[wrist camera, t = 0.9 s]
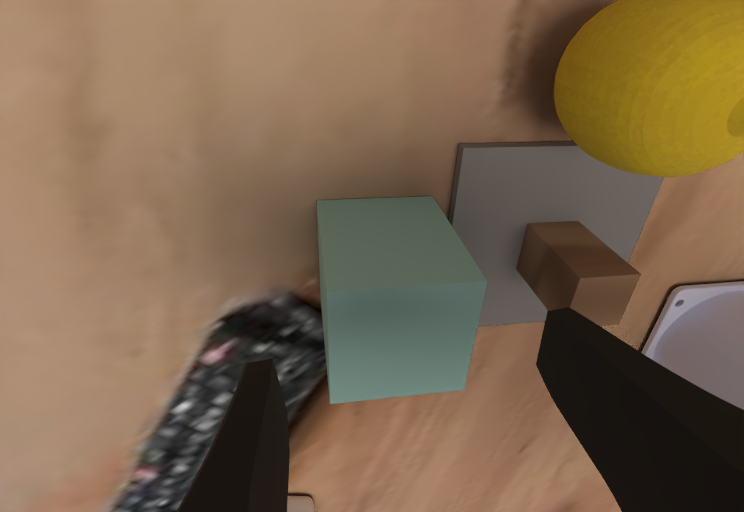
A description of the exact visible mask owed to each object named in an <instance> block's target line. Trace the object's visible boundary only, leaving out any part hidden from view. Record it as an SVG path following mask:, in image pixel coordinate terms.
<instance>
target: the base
mask: <svg viewBox="0 0 744 512" xmlns="http://www.w3.org/2000/svg"><path fill="white" fill-rule="evenodd" d="M663 178H664V177H657V176H648V175H640V174H634V173H629V172H625V171H622V170H619V169H616V168H613V167H611V166H609V165H607V164H605V163H603V162H601V161H598V160H596V159H594V158H592V157H591V156H589V155H588V154H586V153H585V152H584V151H583V150H582V149H581V148H580V147H579V146H578V145H577V144H576V143H575V142H574V141H563V142H510V143H459V148H458V155H457V162H456V169H455V176H454V183H453V190H452V197H451V204H450V211H449V218H448V221H449V222H450V224H451V226H452V227H453V229H454V230H455V232H456V233H457V235H458V236H459V238H460V240H461V241H462V243H463V244H464V246H465V247H466V249H467V250H468V252H469V254H470V255H471V257H472V258H473V260H474V261H475V263H476V264H477V266H478V268H479V269H480V271H481V272H482V274H483V275H484V277H485V278H486V280H487V285H486V290H485V295H484V299H483V304H482V309H481V313H480V318H479V323H478V327H481V326H493V325H505V324H517V323H528V322H540V321H546V316H547V311H548V310H547V309H546V307H545V306H544V305H543V303H542V302H541V301H540V300H539V298H538V297H537V296H536V294H535V293H534V292H533V290H532V289H531V288H530V287H529V285H528V284H527V283H526V281H525V280H524V279H523V277H522V276H521V275H520V274H519V272H518V271H517V270H516V267H517V263H518V259H519V255H520V251H521V247H522V243H523V239H524V235H525V231H526V227H527V223H543V222H564V221H579V222H580V223H581V224H583V225H584V226H585V227H586V228H587V229H588V230H590V231H591V232H592V233H593V234H594V235H595V236H597V237H598V238H599V239H600V240H601V241H602V242H604V243H605V244H606V245H607V246H608V247H609V248H611V249H612V250H613V251H614V252H615V253H617V254H618V255H619V256H620V257H621V258H622V259H624V260H625V261H626V262H627V263H628V262H629V260H630V258H631V255H632V253H633V250H634V248H635V245H636V243H637V241H638V238H639V236H640V233H641V231H642V229H643V226H644V224H645V221H646V219H647V217H648V214H649V212H650V209H651V207H652V205H653V202H654V200H655V197H656V195H657V193H658V190H659V188H660V185H661V183H662V181H663Z"/></svg>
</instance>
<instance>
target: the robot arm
mask: <svg viewBox="0 0 744 512" xmlns="http://www.w3.org/2000/svg"><path fill="white" fill-rule="evenodd" d="M536 365H537V368H538V370H539V372H540V374H541V376H542V378H543V381H544V383H545V385H546V387H547V389H548V391H549V393H550V395H551V397H552V399H553V401H554V402H555V404H556V406H557V407H558V409H559V410H560V412H561V413H562V415H563V417H564V418H565V420H566V421H567V423H568V424H569V426H570V428H571V429H572V431H573V432H574V434H575V435H576V437H577V438H578V440H579V441H580V443H581V445H582V446H583V448H584V449H585V451H586V452H587V454H588V455H589V457H590V458H591V460H592V462H593V463H594V465H595V466H596V468H597V469H598V471H599V472H600V474H601V475H602V477H603V479H604V480H605V482H606V484H607V485H608V487H609V489H610V490H611V492H612V494H613V495H614V497H615V499H616V501H617V503H618V505H619V507H620V509H621V511H622V512H744V281H740V282H727V283H714V284H700V285H687V286H679V287H677V288H675V289H674V290H673V291H672V292H671V294H670V296H669V298H668V300H667V302H666V304H665V306H664V308H663V310H662V312H661V314H660V316H659V318H658V320H657V322H656V324H655V326H654V328H653V330H652V332H651V334H650V336H649V338H648V340H647V342H646V344H645V346H644V348H643V350H642V352H639V351H637V350H636V349H634V348H633V347H631V346H630V345H628V344H626V343H625V342H623V341H622V340H620V339H619V338H617V337H616V336H614V335H612V334H611V333H609V332H608V331H606V330H605V329H603V328H602V327H600V326H599V325H597V324H595V323H594V322H592V321H591V320H589V319H588V318H586V317H585V316H583V315H581V314H580V313H578V312H577V311H575V310H573V309H572V308H570V307H567V308H561V309H556V310H550V311H547V316H546V321H545V325H544V330H543V335H542V339H541V344H540V349H539V353H538V358H537V363H536ZM288 477H289V434H288V419H287V409H286V406H285V402H284V398H283V395H282V391H281V387H280V384H279V380H278V376H277V373H276V369H275V365H274V362H273V359H268V360H262V361H257V362H251V363H247V364H246V365H245V367H244V369H243V372H242V375H241V378H240V380H239V383H238V386H237V389H236V391H235V394H234V396H233V399H232V401H231V404H230V406H229V408H228V411H227V413H226V416H225V418H224V420H223V422H222V424H221V426H220V429H219V431H218V433H217V435H216V437H215V440H214V442H213V444H212V446H211V448H210V450H209V452H208V454H207V456H206V458H205V460H204V462H203V464H202V466H201V468H200V469H199V471H198V473H197V475H196V477H195V479H194V481H193V483H192V485H191V487H190V489H189V490H188V492H187V494H186V496H185V497H184V499H183V501H182V503H181V505H180V506H179V508H178V510H177V511H176V512H287V500H288Z"/></svg>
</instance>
